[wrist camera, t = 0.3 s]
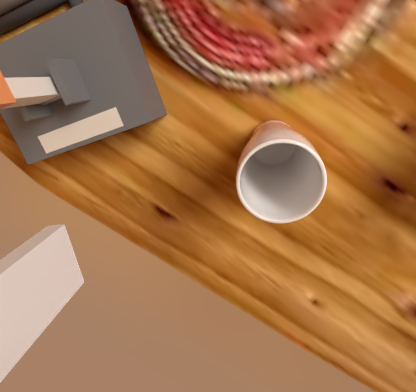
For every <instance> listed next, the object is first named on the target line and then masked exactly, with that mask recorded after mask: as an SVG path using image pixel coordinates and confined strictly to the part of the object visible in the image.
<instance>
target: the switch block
mask: <svg viewBox="0 0 416 392" xmlns="http://www.w3.org/2000/svg"><path fill="white" fill-rule="evenodd" d="M0 71H1V73H2V75H3V77H4V78H13V77H52V78H53V80H54V82H55V84H56V86H57V88H58V90H59V92H60V95H61V97H62V98H60V99H58V100H56V101H53V102H51V103H48V104H46V105H41V104H33V105H26V106H19V107H12V108H4V109H0V114H1V116H2V117H3V119H4V121H5V123H6V125H7V127H8V129H9V131H10V132H11V134H12V136H13V138H14V140H15V142H16V144H17V145H18V147H19V149H20V151H21V153H22V155H23V157H24V159H25V160H26V162H27V164H28V165H29V164H32V163H35V162H38V161H41V160H43V159H46V158H49V157H52V156H55V155H58V154H60V153H63V152H66V151H69V150H72V149H75V148H77V147H80V146H83V145H86V144H89V143H92V142H94V141H97V140H100V139H103V138H106V137H109V136H111V135H114V134H117V133H120V132H123V131H125V130H128V129H131V128H134V127H137V126H140V125H142V124H145V123H148V122H151V121H153V120H155V119H158V118H160V117H162V116H164V115H167V113H166V110H165V108H164V105H163V102H162V100H161V97H160V94H159V92H158V89H157V86H156V84H155V81H154V78H153V75H152V73H151V70H150V67H149V65H148V62H147V59H146V57H145V54H144V51H143V49H142V46H141V43H140V41H139V38H138V35H137V33H136V30H135V27H134V25H133V22H132V19H131V16H130V14H129V11H128V8H127V6H125V5H123V4H121V3H119V2H117V1H115V0H87V1H85V2H83V3H81V4H79V5H77V6H75V7H73V8H71V9H69V10H67V11H65V12H63V13H61V14H59V15H57V16H55V17H53V18H51V19H49V20H46V21H44V22H42V23H40V24H38V25H36V26H34V27H32V28H30V29H28V30H26V31H24V32H22V33H20V34H18V35H16V36H14V37H12V38H10V39H8V40H6V41H4V42H2V43H0Z"/></svg>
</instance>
